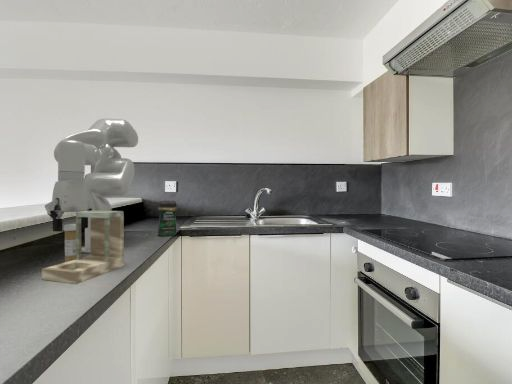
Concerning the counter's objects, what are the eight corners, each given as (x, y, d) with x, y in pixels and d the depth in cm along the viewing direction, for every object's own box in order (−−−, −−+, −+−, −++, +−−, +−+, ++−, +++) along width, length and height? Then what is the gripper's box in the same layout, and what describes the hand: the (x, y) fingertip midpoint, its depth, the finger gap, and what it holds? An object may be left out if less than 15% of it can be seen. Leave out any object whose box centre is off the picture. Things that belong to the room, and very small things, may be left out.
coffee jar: (158, 237, 149) (158, 201, 149) (157, 234, 156) (157, 200, 156) (177, 235, 152) (177, 200, 152) (176, 233, 160) (176, 200, 159)
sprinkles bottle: (78, 261, 100) (77, 222, 100) (82, 264, 97) (82, 224, 97) (62, 264, 97) (62, 224, 96) (66, 266, 94) (66, 225, 93)
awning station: (94, 263, 98) (93, 210, 98) (123, 266, 95) (123, 211, 94) (41, 279, 81) (41, 215, 80) (75, 283, 78) (75, 216, 77)
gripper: (84, 179, 105) (84, 226, 105) (37, 176, 89) (36, 232, 89) (101, 179, 103) (101, 227, 103) (55, 176, 87) (55, 233, 87)
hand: (71, 229), depth 96 cm, fingers open, 9 cm apart
